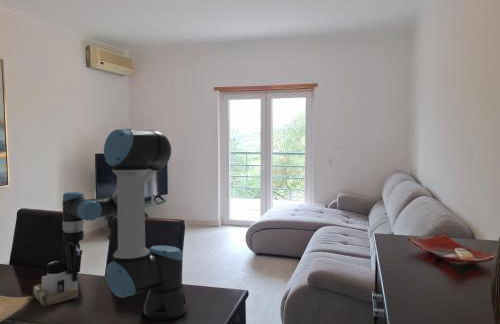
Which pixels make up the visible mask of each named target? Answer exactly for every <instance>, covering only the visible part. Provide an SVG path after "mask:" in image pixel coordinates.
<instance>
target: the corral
mask: <svg viewBox="0 0 500 324" xmlns="http://www.w3.org/2000/svg"><path fill="white" fill-rule="evenodd" d="M32 291H33V292H32V294H33V295H32V296H33V297H35V298H36V300H37V301H38V302H39V303H40V304H41V306H42V307H46V306H50V305H55V304H58V303H62V302H66V301H70V300H75V299H78V298H79V287H78V288H74V289H70V290H66V291H62V292H58V293H53V294H49V295H46V294H45V293H44V292H43V291H42V283H41V284H40V283H39V284H35V285H33V286H32Z"/></svg>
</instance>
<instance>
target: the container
mask: <svg viewBox="0 0 500 324" xmlns="http://www.w3.org/2000/svg"><path fill="white" fill-rule="evenodd" d="M66 272H67V262H65V261H62V260H55V261H52V262H49V263H47V264H46V273H47V274H46V275H43V276H41V284H42V291H43V292H44V293H45V294H46V295H49V294H53V293H58V292H62V291H66V290H70V289H71V275H70V274H69V273H66Z"/></svg>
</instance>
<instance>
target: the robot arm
mask: <svg viewBox="0 0 500 324" xmlns="http://www.w3.org/2000/svg"><path fill="white" fill-rule="evenodd" d="M171 155H172V146H171V142H170V140H169V139H168V137H167V136H166V135H165V134H164V133H161V132H159V131H158V130H151V129H150V130H144V129H134V128H123V129H122V128H118V129H114V130H113V131H111V132H110V133H109V134H108V136H107V137H106V139H105V142H104V146H103V158H104V159H105V162H106V163H107V164H108V165H109V166H111V172H112V173H113V174H115V176H116V189H115V191H114V192H113V193H112V195H111V196H109V197H101V198H99V197H98V198H90V199H89V198H88V199H87V198H86V199H85V196H84V192H82V191H69V192H65V193H64V194H62V231H63V232H62V241H63V242H64V243H65V242H66V243H67V244H66V245H65V246H64V248H65V255H66V256H65V257H66V270H68V272H69V273H68V274H70V275H71V289H74V288H78V289H79V277H78V276H79V274H78V273H80V272H81V264H82V254H83V250H82V249H81V245H80V241H83V240H84V238H85V235H84V233H85V232H84V224H85V221H87V222H88V221H94V220H97V219H98V218H104V217H110V216H111V217H112V216H117V248H116V250H115V251H114V252H113V254H112V257H113V258H112V261H110V262H109V263H107V265H106V267H105V279H106V283H107V286H108V288H109V289H110V291H111V292H112V293H113V294H114V295H115V296H116V297H119V298H126V297H129V296H134V295H136V294H138V293H143V292H145V291H148V293H147V295H146V299H145V302H144V305H143V315H144V316H145V317H147V319H152V320H155V321H166V320H173V319H176V318H179V317H181V316H183V315H184V314H185V313H186V312H187V309H188V307H187V305H188V303H187V300H186V297H185V294H184V293H185V292H184V290H183V261H184V260H183V252H182V250H181V249H180V248H179V247H176V246H173V245H172V246H171V245H152V246H151V247H149V248H147V247H146V215H145V214H146V213H145V211H146V210H145V209H146V208H145V207H146V206H145V201H146V198H145V186H146V185H147V184H148V182H149V181H150V180H151V179H152V177H154V175H155V174H156V173H157V172H160V171H162V170H163V169H164V168H165V166H167V164H168V163H169V161H170V159H171Z"/></svg>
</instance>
